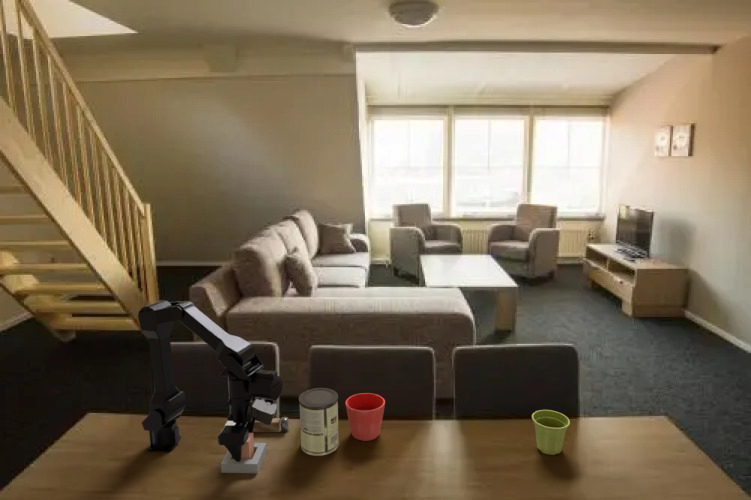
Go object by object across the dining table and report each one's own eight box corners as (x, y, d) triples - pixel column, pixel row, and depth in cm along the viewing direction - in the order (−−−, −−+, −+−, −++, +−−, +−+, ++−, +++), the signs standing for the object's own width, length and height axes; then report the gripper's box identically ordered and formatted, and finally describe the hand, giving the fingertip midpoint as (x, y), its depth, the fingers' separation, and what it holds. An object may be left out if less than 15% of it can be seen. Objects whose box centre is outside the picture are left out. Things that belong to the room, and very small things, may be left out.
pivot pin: (280, 432, 138) (279, 420, 137) (281, 427, 140) (281, 416, 139) (287, 432, 138) (287, 420, 137) (289, 428, 140) (289, 416, 139)
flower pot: (349, 422, 143) (349, 391, 141) (387, 424, 141) (387, 393, 140) (342, 442, 133) (341, 409, 131) (382, 445, 131) (382, 412, 129)
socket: (221, 472, 120) (220, 463, 119) (233, 451, 129) (232, 442, 128) (257, 473, 120) (257, 464, 119) (266, 451, 128) (266, 443, 128)
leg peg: (234, 466, 122) (232, 441, 121) (239, 457, 126) (237, 432, 125) (250, 467, 122) (248, 441, 121) (254, 457, 126) (253, 432, 125)
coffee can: (305, 433, 137) (304, 386, 134) (341, 435, 136) (341, 388, 133) (296, 455, 127) (294, 405, 124) (335, 457, 126) (334, 407, 123)
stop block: (225, 432, 138) (224, 425, 137) (228, 426, 141) (228, 420, 140) (235, 432, 138) (235, 425, 137) (238, 426, 141) (238, 420, 140)
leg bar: (280, 427, 140) (280, 418, 139) (278, 432, 138) (278, 422, 137) (242, 427, 140) (241, 417, 140) (240, 431, 138) (239, 421, 137)
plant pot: (528, 454, 127) (530, 424, 125) (531, 435, 135) (533, 407, 134) (567, 462, 123) (569, 431, 122) (567, 443, 132) (570, 413, 130)
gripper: (263, 412, 111) (266, 474, 114) (281, 377, 130) (283, 430, 132) (215, 412, 112) (219, 473, 114) (240, 376, 130) (243, 430, 133)
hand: (244, 450), depth 124 cm, fingers open, 9 cm apart
